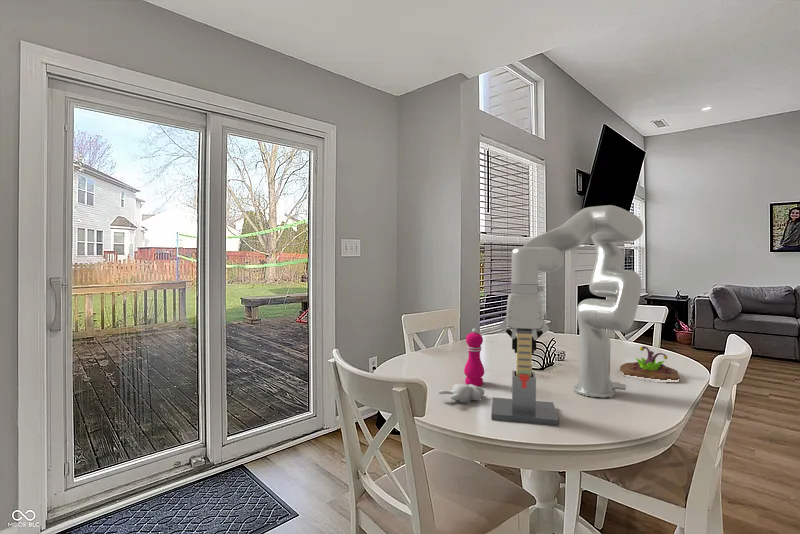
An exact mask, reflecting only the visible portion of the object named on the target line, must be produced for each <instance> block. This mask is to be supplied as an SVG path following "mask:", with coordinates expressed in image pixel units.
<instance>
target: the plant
mask: <svg viewBox="0 0 800 534" xmlns="http://www.w3.org/2000/svg"><path fill="white" fill-rule="evenodd" d="M645 349H646V351H647V358H646V359H645V358H644V357H641V359H639V358H636V357H635V358H634V359H635V360H636V361H634V362H625V363H623V364H621V365H620V367H619V372H620V371H622V372H623V373H624V375H630V376H637V377H644V378H651V379H660V380H667V379H671V380H678V379H680V380H681V377H680V375H679V372H678V370H676V369H674V368H673V367H669V366H667V365H665V364H664V363H665V361H664V360H667V359H668V356H667V355H666V354H665V353H662V352H658V353H656V354H655V352H654V351H652V350H650V348H648V346H644V345H643V346H640V347H639V350H640V351H642V352H643V351H644V350H645ZM660 355H662V356H663V359H664V360H661V361H658V362H657V360H656V359H657V357H658V356H660ZM624 375H623V376H624Z"/></svg>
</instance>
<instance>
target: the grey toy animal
mask: <svg viewBox="0 0 800 534" xmlns="http://www.w3.org/2000/svg"><path fill="white" fill-rule="evenodd" d="M438 394H439V395H449V397H450V399H451V400H453V401H456V402H457V401H459V403H461V404H464V403H466V404H467V403H470V402H471V401H479V400H482V398H483V396H485V390H484V389H483V388H482V387H481V386H475V385H472V384H469V385H467V384H464V383H455V384H453V386H452V389H451V390H450V389H439V391H438Z"/></svg>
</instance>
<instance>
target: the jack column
mask: <svg viewBox="0 0 800 534" xmlns="http://www.w3.org/2000/svg"><path fill="white" fill-rule="evenodd" d="M516 336H517V353H516V370H515V371H516V376H519V377H520V374H529V377H531V372H532V355H533V354H532V330H531V329H517V333H516Z"/></svg>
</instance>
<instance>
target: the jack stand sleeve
mask: <svg viewBox="0 0 800 534" xmlns="http://www.w3.org/2000/svg"><path fill="white" fill-rule="evenodd" d="M516 371H517V370H512V371H511V372H512V374H511V398H503V397H492V401H491V415H490V417H491V418H490V419H491V420H492V421H501V422H502V421H503V422H513V423H521V424H522V423H524V424H525V423H526V424H534V425H545V426H546V425H547V426H558V427H559V426H560V419H559V417H558V414H557V413H558V412H557V410H556V407H555V403H554V401H544V400H543V401H541V400H540V401H539V400H537V377H536V372H535V371H531V377H529V374H520V377H519V376H516Z"/></svg>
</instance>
